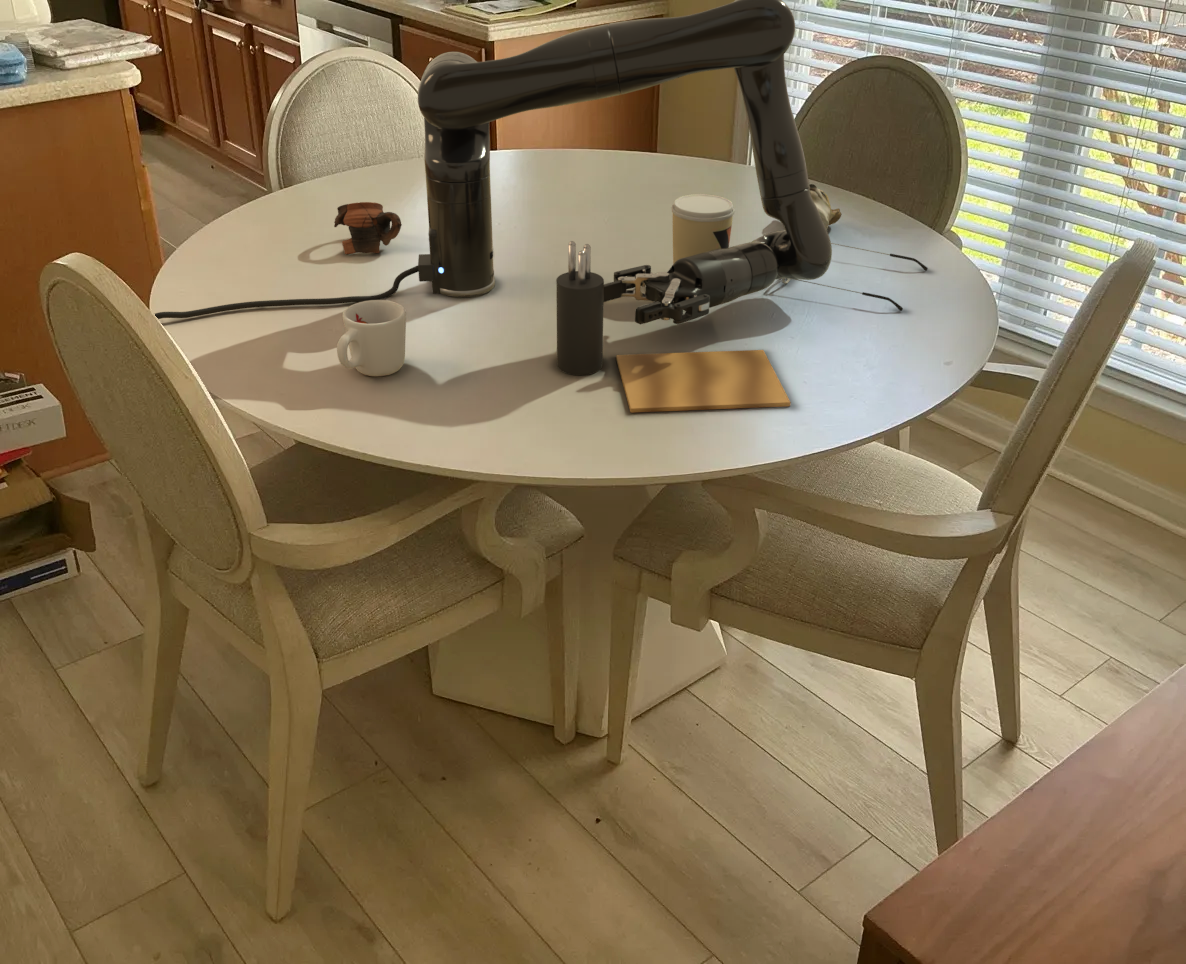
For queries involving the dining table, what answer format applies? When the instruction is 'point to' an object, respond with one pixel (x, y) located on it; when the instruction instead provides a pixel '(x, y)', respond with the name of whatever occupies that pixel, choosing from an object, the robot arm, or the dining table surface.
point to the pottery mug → (367, 226)
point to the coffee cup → (700, 224)
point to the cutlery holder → (579, 315)
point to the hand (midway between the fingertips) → (617, 305)
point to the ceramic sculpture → (824, 206)
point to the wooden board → (700, 381)
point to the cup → (373, 337)
